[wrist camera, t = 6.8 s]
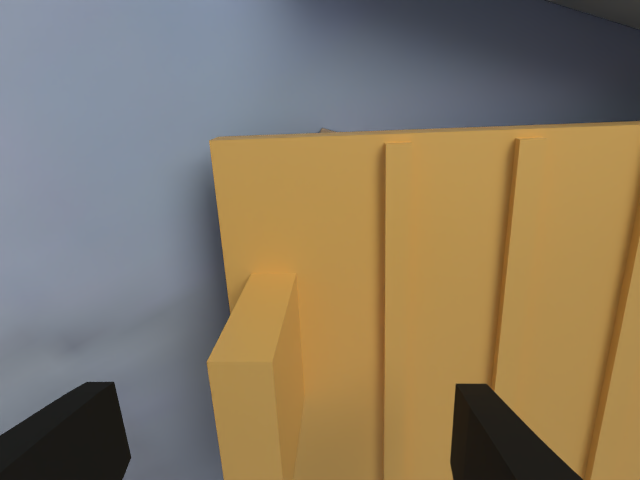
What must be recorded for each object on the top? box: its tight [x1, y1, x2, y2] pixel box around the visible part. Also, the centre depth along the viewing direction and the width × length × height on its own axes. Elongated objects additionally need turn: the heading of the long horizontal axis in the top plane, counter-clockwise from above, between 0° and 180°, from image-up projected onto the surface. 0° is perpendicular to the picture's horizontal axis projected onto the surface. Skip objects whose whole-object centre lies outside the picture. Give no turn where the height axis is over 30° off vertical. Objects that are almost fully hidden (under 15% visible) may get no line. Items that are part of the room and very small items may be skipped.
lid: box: [207, 121, 640, 480], centre depth 11 cm, size 15×11×6 cm
